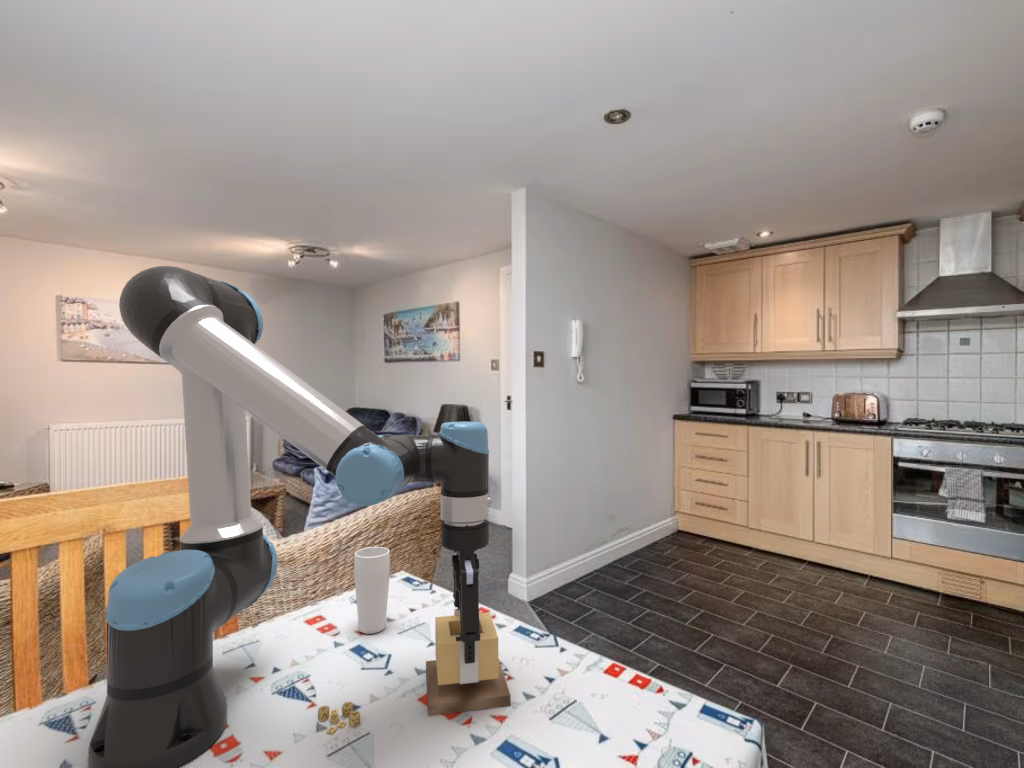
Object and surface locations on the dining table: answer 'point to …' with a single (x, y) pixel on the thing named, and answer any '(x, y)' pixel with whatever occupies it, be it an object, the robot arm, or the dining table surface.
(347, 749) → the dining table surface
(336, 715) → the dice set
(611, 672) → the dining table surface
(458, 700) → the post base
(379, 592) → the drinking glass
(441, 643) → the collar
